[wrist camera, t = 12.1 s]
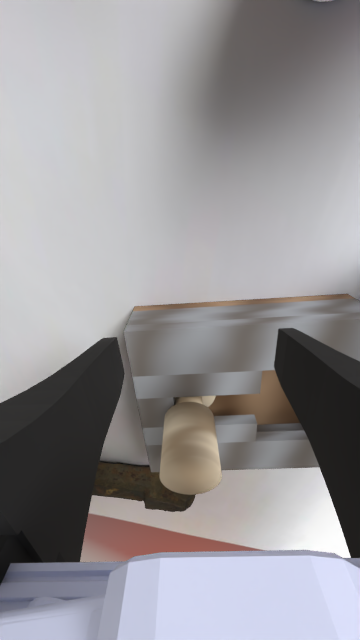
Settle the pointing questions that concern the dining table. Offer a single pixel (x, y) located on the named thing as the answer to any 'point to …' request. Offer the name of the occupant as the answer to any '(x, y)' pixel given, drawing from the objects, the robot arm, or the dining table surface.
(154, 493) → the hand tool
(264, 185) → the dining table surface
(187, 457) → the keyhole peg
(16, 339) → the dining table surface
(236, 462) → the keyhole plate
